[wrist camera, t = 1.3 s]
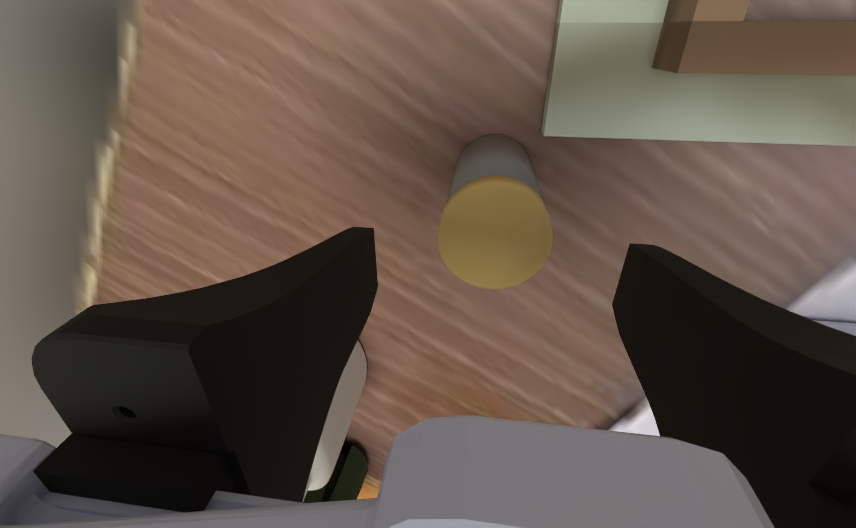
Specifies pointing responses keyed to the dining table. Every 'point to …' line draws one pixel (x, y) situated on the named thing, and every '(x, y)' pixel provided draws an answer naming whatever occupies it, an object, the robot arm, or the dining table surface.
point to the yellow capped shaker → (494, 216)
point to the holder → (699, 74)
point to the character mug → (342, 479)
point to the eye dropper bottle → (338, 419)
